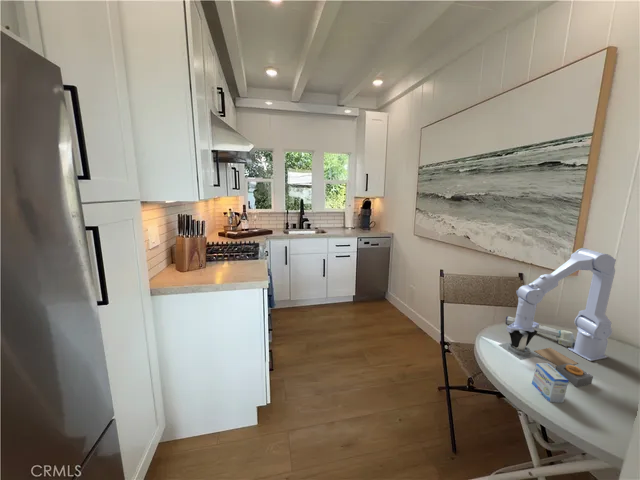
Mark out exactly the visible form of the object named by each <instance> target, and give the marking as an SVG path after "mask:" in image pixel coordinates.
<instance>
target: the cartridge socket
mask: <svg viewBox="0 0 640 480" xmlns="http://www.w3.org/2000/svg"><path fill="white" fill-rule="evenodd" d="M498 346H499V347H501V348H502V349H504V350H505V351H507V352H508V353H510V354H511V355H513V356H514V357H515V358H517V359H519V360H520V361H523V360H527V359H531V358H536V357H541V355H539V354H537V353H536V352H534V350H531V349H530V348H529V347H528V346H526V347H525V352H521V351H517V350H515V349H513V345H512V343H511V342H506V343H501V344H500V343H499V344H498Z"/></svg>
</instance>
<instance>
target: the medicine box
mask: <svg viewBox="0 0 640 480" xmlns="http://www.w3.org/2000/svg"><path fill="white" fill-rule="evenodd" d="M555 368H556V367H554V366H552V365H551V364H550V363H547V362H546V363H545V362H536V364H535V369H534V371H533V375H532V380H531V384H532V386H533V387H534V388H536V389H537V391H538V392H539V393H540V394H541V395H542V396H543V397H544V398H545V399H546V401H548V402H549V403H558V404H560V403H563V404H564V400H565V397H566V392H567V389H568V384H569V383H570V382H569V380H568V379H566V378H565V377H564V376H563V375H562V374H561V373H559V372H558V371H557V370H556V369H555Z"/></svg>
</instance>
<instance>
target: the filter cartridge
mask: <svg viewBox="0 0 640 480" xmlns="http://www.w3.org/2000/svg"><path fill="white" fill-rule="evenodd" d="M519 332H520V333H521V334H523V335H524V336H523V337H522V338H521V340H520V342H519V346H518V347H517V348H516V347H514V346H513V349H515V350H517V351H521V352H525V347H527V346H526V342H527V337H528V333H526V332H524V331H521V330H519Z"/></svg>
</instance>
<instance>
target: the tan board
mask: <svg viewBox="0 0 640 480" xmlns="http://www.w3.org/2000/svg"><path fill="white" fill-rule="evenodd" d="M533 352H535V353H536V354H538V355H540V357H542V358H543V359H545V360H547V361H549V362H551V363H552V364H554V365H555V366H559V365H564V364H568V363H571V364H573V365H574V366H575V365H578V364H579V362H577V361H574V360H573V359H571V358H569V357H567V356H566V355H564V354H563V353H561V352H559V351H557V350H555V349H554V348H552V347H548V348H547V347H546V348H542V349H537V350H533Z"/></svg>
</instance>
